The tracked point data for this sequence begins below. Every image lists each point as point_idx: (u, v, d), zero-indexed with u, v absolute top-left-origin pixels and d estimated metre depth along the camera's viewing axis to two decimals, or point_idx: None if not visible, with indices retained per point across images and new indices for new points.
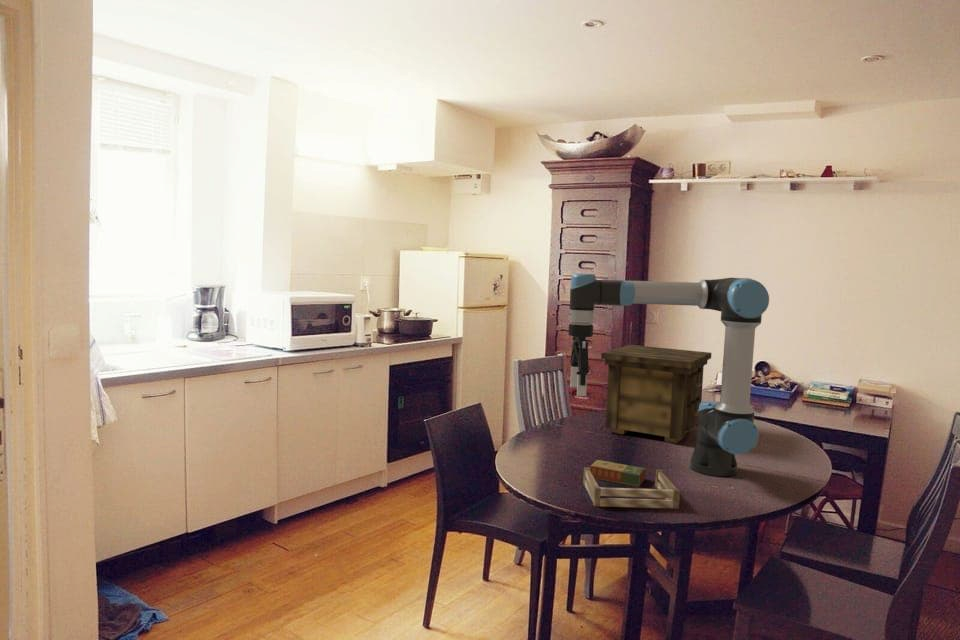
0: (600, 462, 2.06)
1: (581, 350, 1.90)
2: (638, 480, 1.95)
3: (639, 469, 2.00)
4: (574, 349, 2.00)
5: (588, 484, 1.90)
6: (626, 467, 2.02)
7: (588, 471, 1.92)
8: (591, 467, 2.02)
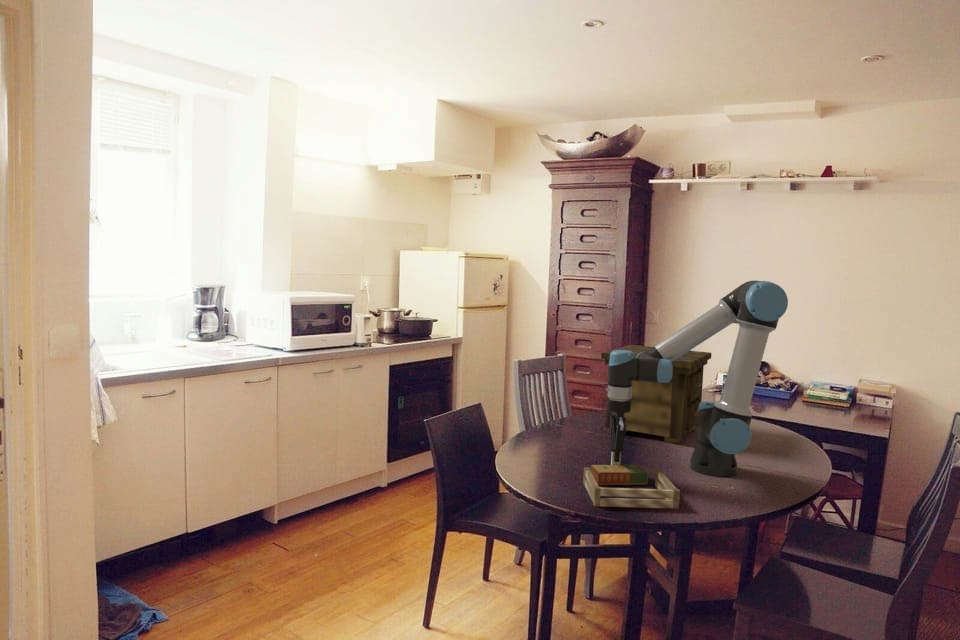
0: (599, 467, 2.00)
1: (618, 432, 1.99)
2: (646, 478, 1.97)
3: (637, 467, 2.02)
4: (613, 424, 2.05)
5: (588, 484, 1.90)
6: (625, 467, 2.01)
7: (588, 471, 1.92)
8: (600, 474, 1.95)
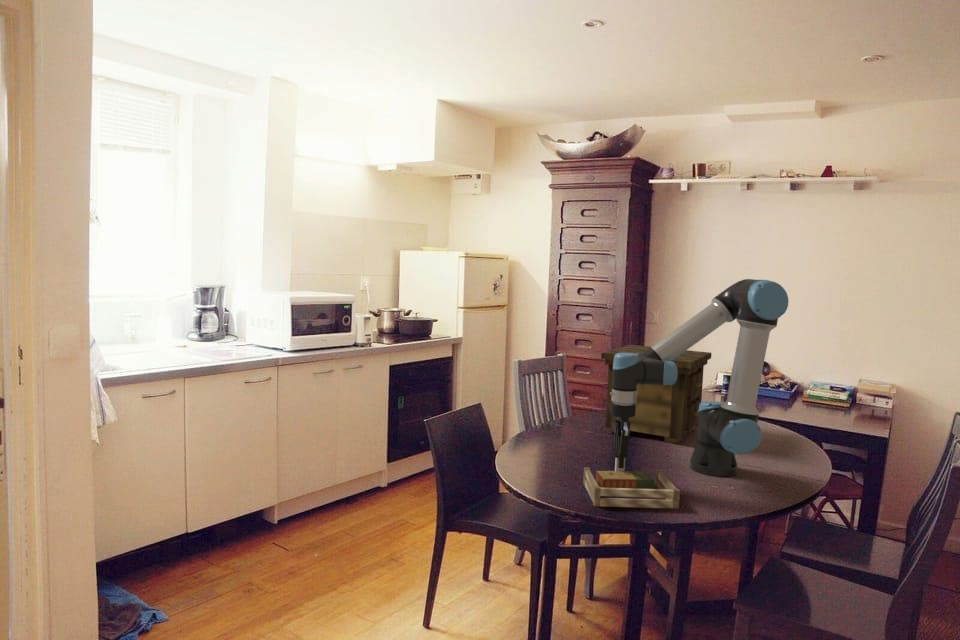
0: (605, 473, 1.95)
1: (623, 438, 1.93)
2: (653, 485, 1.91)
3: (644, 473, 1.96)
4: (617, 429, 1.98)
5: (588, 484, 1.90)
6: (632, 473, 1.95)
7: (588, 471, 1.92)
8: (605, 480, 1.90)
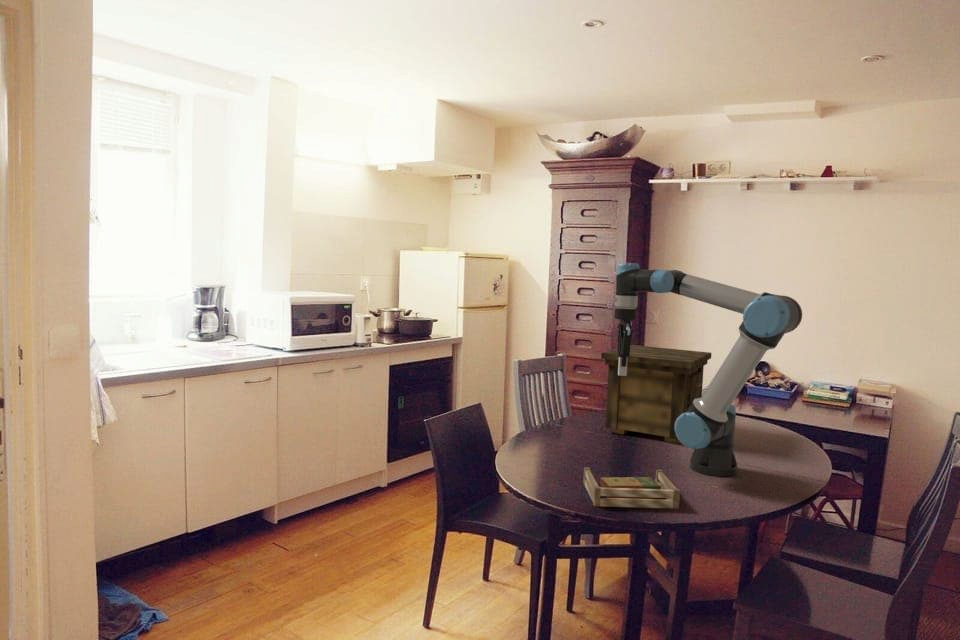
0: (610, 480, 1.89)
1: (625, 337, 2.15)
2: None
3: (649, 479, 1.91)
4: (620, 332, 2.21)
5: (588, 484, 1.90)
6: (637, 480, 1.90)
7: (588, 471, 1.92)
8: (611, 487, 1.84)
